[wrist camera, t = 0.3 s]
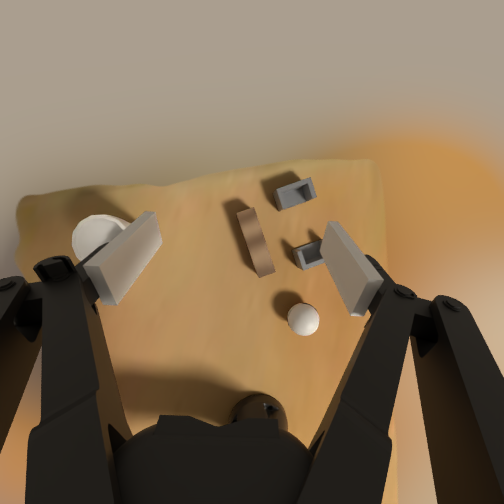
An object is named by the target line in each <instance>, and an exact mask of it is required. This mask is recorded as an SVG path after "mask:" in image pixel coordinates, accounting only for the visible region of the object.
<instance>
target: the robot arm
mask: <svg viewBox="0 0 504 504" xmlns="http://www.w3.org/2000/svg"><path fill="white" fill-rule="evenodd" d="M161 245H162V239H161V234H160V230H159V225H158V221H157V217H156V212H148V211H145V212H144V213H143V214H142V215H140V216H139V217H138V218H137V219H136V220H135V221H133V222H132V223H131V224H130V225H129V226H128V227H127V228H125V229H124V230H123V231H122V232H121V233H120V234H118V235H117V236H116V237H115V238H114V239H113V240H112V241H110V242H107V243H105V244H103V245H101V246H99V247H98V248H96V249H95V250H94V251H93V252H92V253H90V254H89V255H88V256H87V257H86V258H84V259H83V260H82V261H81V262H80V263H78V264H77V265H76V266H74V265H73V263H72V261H71V259H70V258H69V257H68V256H54V257H50V258H47V259H44V260H42V261H40V262H39V263H37V264H36V265H35V266H34V268H33V269H34V271H35V272H36V274H37V275H38V277H39V278H40V279H41V281H42V282H35V283H28V282H27V281H26V280H25V279H24V278H23V277H21V276H14V277H8V278H3V279H1V280H0V453H1V450H2V448H3V445H4V442H5V440H6V437H7V435H8V431H9V429H10V427H11V424H12V421H13V419H14V416H15V414H16V411H17V408H18V406H19V403H20V400H21V398H22V395H23V393H24V390H25V387H26V385H27V382H28V380H29V377H30V374H31V372H32V369H33V367H34V363H35V361H36V359H37V356H38V353H39V351H40V348H41V346H42V380H41V382H42V384H41V421H40V424H39V425H38V426H36V427H34V428H33V429H32V430H31V432H30V434H29V439H28V450H27V471H26V490H25V504H381V502H382V497H383V492H384V487H385V482H386V477H387V472H388V467H389V462H390V457H391V451H392V440H391V439H390V437H389V436H388V430H389V425H390V421H391V416H392V412H393V407H394V403H395V398H396V394H397V389H398V385H399V380H400V376H401V371H402V367H403V362H404V358H405V354H406V350H407V345H408V340H409V336H410V340H411V346H412V353H413V359H414V365H415V371H416V377H417V383H418V389H419V395H420V400H421V406H422V413H423V419H424V425H425V430H426V437H427V443H428V449H429V455H430V461H431V467H432V473H433V479H434V485H435V491H436V497H437V503H438V504H504V377H503V375H502V374H501V372H500V370H499V368H498V366H497V364H496V362H495V360H494V358H493V356H492V354H491V352H490V350H489V348H488V346H487V344H486V342H485V340H484V338H483V336H482V334H481V332H480V330H479V328H478V326H477V324H476V322H475V320H474V318H473V316H472V314H471V313H470V311H469V309H468V308H467V307H466V306H465V305H463V304H462V303H461V302H460V301H458V300H456V299H454V298H451V297H449V296H444V295H438V296H436V297H435V298H434V300H433V301H429V300H425V299H421V298H417V295H416V294H415V293H414V292H413V291H412V290H411V289H409V288H407V287H405V286H402V285H399V284H396V283H395V282H394V281H393V280H392V279H391V278H390V276H389V275H388V274H387V273H386V272H385V270H384V269H383V268H382V267H381V266H380V264H379V263H378V262H377V261H376V260H375V259H374V258H372V257H371V256H369V255H364V254H363V253H362V251H361V250H360V249H359V248H358V246H357V245H356V244H355V243H354V241H353V240H352V239H351V238H350V236H349V235H348V234H347V232H346V231H345V230H344V229H343V227H342V226H341V225H340V224H339V222H335V221H328V223H327V227H326V230H325V234H324V237H323V241H322V244H321V248H320V253H321V255H322V257H323V259H324V261H325V264H326V266H327V268H328V270H329V272H330V274H331V276H332V278H333V280H334V282H335V284H336V286H337V289H338V291H339V293H340V295H341V297H342V299H343V301H344V303H345V305H346V307H347V309H348V311H349V314H350V316H364V315H365V313H366V311H367V310H369V312H370V313H371V316H370V318H369V320H368V321H367V323H366V325H365V326H364V328H365V329H364V331H363V333H362V335H361V337H360V339H359V342H358V344H357V346H356V348H355V350H354V353H353V355H352V357H351V359H350V361H349V363H348V366H347V368H346V370H345V372H344V374H343V376H342V379H341V381H340V383H339V385H338V387H337V389H336V392H335V394H334V396H333V398H332V400H331V403H330V405H329V407H328V409H327V411H326V413H325V416H324V418H323V420H322V422H321V424H320V426H319V428H318V430H317V432H316V434H315V436H314V438H313V440H312V442H311V444H310V446H309V448H308V449H307V448H306V447H305V445H304V444H303V443H302V442H301V441H300V440H299V439H297V438H296V437H295V436H294V435H292V434H291V433H289V432H288V422H287V417H286V414H285V411H284V408H283V407H282V405H281V404H280V403H279V402H278V401H277V400H276V399H274V398H272V397H270V396H267V395H252V396H249V397H247V398H245V399H243V400H241V401H240V402H239V403H238V404H237V405H236V406H235V407H234V408H233V410H232V412H231V414H230V417H229V424H227V425H224V426H220V427H216V426H213V425H211V424H208V423H206V422H203V421H201V420H198V419H195V418H193V417H190V416H176V415H160V416H159V419H158V422H157V424H155V425H153V426H150V427H148V428H146V429H144V430H142V431H140V432H139V433H137V434H135V435H134V436H133V435H132V433H131V430H130V428H129V426H128V424H127V421H126V418H125V414H124V410H123V406H122V402H121V399H120V395H119V391H118V387H117V383H116V379H115V375H114V371H113V367H112V363H111V359H110V355H109V352H108V348H107V344H106V340H105V336H104V332H103V328H102V324H101V320H100V316H99V312H98V309H97V306H96V304H95V302H96V301H97V299H98V298H99V297H100V299H101V301H102V303H103V305H118V304H119V302H120V301H121V300H122V298H123V297H124V295H125V294H126V293H127V291H128V290H129V289H130V287H131V286H132V284H133V283H134V282H135V280H136V279H137V278H138V276H139V275H140V273H141V272H142V271H143V269H144V268H145V267H146V265H147V264H148V262H149V261H150V260H151V258H152V257H153V256H154V254H155V253H156V251H157V250H158V249H159V247H160V246H161Z"/></svg>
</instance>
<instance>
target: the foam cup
mask: <svg viewBox="0 0 504 504" xmlns="http://www.w3.org/2000/svg"><path fill="white" fill-rule="evenodd" d="M130 224H131V223H129V222H126V221H125V220H123V219H120V218H118V217H115V216H112V215H105V214H104V215H91V216H89V217H87V218H85V219H84V220H82V221H80V222H79V224H78V225H77V227H76V228H75V230H74V231H73V235H72V247H73V250H74V252H75V254H76V257H77V258H78V259H79V260H80V261H82V260H83V259H84V258H86V257H87V256H88V255H89V254H90V253H92V252H93V251H94V250H95V249H96V248H98V247H99V246H101V245H103V244H105V243H107V242H110V241H112V240H113V239H114V238H115V237H116V236H117V235H118V234H120V233H121V232H122V231H123V230H124V229H125V228H127V227H128V226H129V225H130Z"/></svg>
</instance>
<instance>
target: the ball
mask: <svg viewBox="0 0 504 504" xmlns="http://www.w3.org/2000/svg"><path fill="white" fill-rule="evenodd" d="M284 306H285V305H284ZM287 319H288V325H289V326H290V328H291V329H292V330H293V331H294V332H295V333H297V334H298V335H303V336H305V335H310V334H312V333H314V332H315V331H316V330H317V328H318V325H319V316H318V313H317V311H316V309H315V308H314V307H313V306H312V305H310V304H307V303H299V304H296V305H294V306H293V307H292V308H291V309H290V310H289V312H288V316H287Z"/></svg>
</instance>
